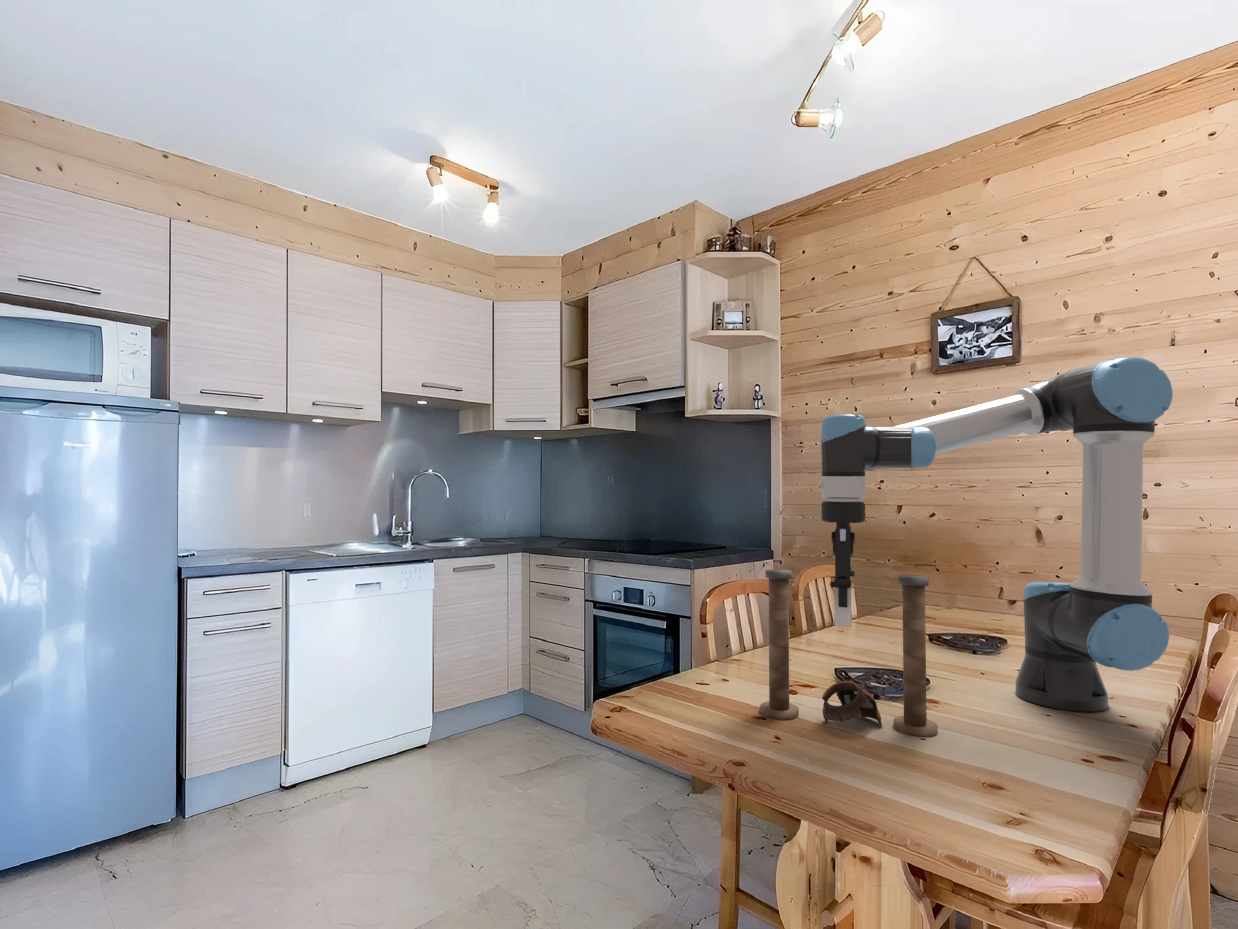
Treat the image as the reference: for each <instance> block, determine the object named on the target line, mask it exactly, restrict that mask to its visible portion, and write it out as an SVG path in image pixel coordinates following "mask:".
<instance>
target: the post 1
mask: <svg viewBox="0 0 1238 929" xmlns="http://www.w3.org/2000/svg"><path fill="white" fill-rule="evenodd" d="M765 578H767V579H768V671H769V672H768V678H769V679H768V685H769V686H768V687H769V689H768V690H769V691H768V696H769V698H768V701H764V702H762V703H760V704H759V713H760V714H761V715H762V716H764V717H767V718H770V719H774V720H785V721H786V720H793V719H797V718H798V717H799V715H800V713H799V712H800V708H799V707H798V706H797V705H796V704H794V703H791V702H790V623H789V622H790V620H789V618H790V617H789V616H790V612H789V611H790V610H789V609H790V607H789V606H790V605H789V603H790V602H789V600H790V598H789V597H790V596H789V595H790V594H789V590H790V589H789V580H790V579H793V571H792V570H790V569H778V568H775V569H774V568H772V569H771V568H769V569H765Z"/></svg>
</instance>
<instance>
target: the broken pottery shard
mask: <svg viewBox="0 0 1238 929" xmlns="http://www.w3.org/2000/svg"><path fill="white" fill-rule="evenodd" d="M855 692H857V693H855ZM835 694H836V696H837V699H838V700H839V702H840V704H841V705H833V704H831V703H829V699H831V697H832V696H833V695H835ZM821 698H822V700H823V703H822V704H823V707H822V716H823V720H824V722H825V723H826V724H828V723H829V721H833V722H838V723H839V722H843V721H849V720H852V719H859V720H863V718H870V719H872V720H876V722H878V726H880V727H879V728H882V727H883V723H882V715H881V713H880V711H879V709H878V705H877V702H876V700H875V697H874V696H873V695H872V694H871V693H870V692H869V691H868V690H866V689H864V688H862V687H861V685H860V684H859V683H857V682H855V681H851V680H842V681H839V682H836V683H833V684H832V685H830V686H829V687H828V688H827V689H826V690H825V691H824V692H823V695H822V697H821Z"/></svg>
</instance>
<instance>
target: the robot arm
mask: <svg viewBox="0 0 1238 929" xmlns="http://www.w3.org/2000/svg"><path fill="white" fill-rule="evenodd" d="M1172 387H1173V386H1172V383H1171V381H1170V379H1169V377H1168V375H1167V373H1166V372H1165V371H1164V370H1163V369H1160V367H1158V365H1157V364H1156V363H1154V362H1153V361H1151V360H1148V359H1146V358H1143V357H1137V356H1126V357H1120V358H1110V359H1107V360H1104V361H1102V362H1099V363H1094V364H1091V365H1088V366H1084V367H1080V368H1076V369H1071V370H1068V371H1066V372H1064V373H1063V372H1062V373H1061V374H1058V375H1056V376H1053V377H1050V378H1049V379H1047V380H1044V381H1040V382H1038V383H1036V384H1033V385H1029V386H1027V387H1026V386H1025V387H1022V388H1019V389H1017V390H1015V391H1014V392H1013V394H1012V395H1011V396H1007V397H1003V398H1000V399H999V398H998V399H996V400H995V399H994V400H992V401H987V402H983V403H979V404H976V405H975V404H974V405H973V406H968V407H965V408H961V409H956V410H952V411H948V412H945V413H941V414H937V415H933V416H930V417H929V416H928V417H926V418H925V417H924V418H922V419H917V420H915V421H910V422H906V423H903V424H898V425H894V426H870V425H867V424H866V423H867V422H866V420H865V417H864V416H863V415H862V414H848V413H847V414H834V415H827V416H826V417H824V419H823V420H822V423H821V435H820V436H821V437H820V450H821V451H820V452H821V481H818V482H817V486H818V487H819V488H822V489H821V497H822V499H825V501H822V502H821V505H820V506H821V510H820V511H821V512H820V513H821V520H822V521H823V522H825V523H836V524H835V525H836V526H835V529H834V531H832V532H831V543H832V554H833V556H834V559H835V560H834V562H835V563H834V571H835V573H834V580H833V581H830V588H834V626H837V627H847V628H852V577H855V576H856V574H855V572H856V571H854V570H852V567H851V557H852V556H853V555H854V544H855V542H856V541H855V540H856V539H855V538H856V536H855V535H856V532H852V531H851V530H852V527H851V524H862V523H864V522H866V503H865V502H864V501H863V500H864V499H865V498H866V493H867V492H866V471H868V472H870V471H874V470H875V471H876V470H888V469H889V470H890V469H893V470H894V469H911V470H913V469H914V470H915V469H924V468H928V467H930V466H931V465H932V463H933V462H934V460H935V458H936V455H938V454H941V453H942V454H943V453H946V452H950V451H954V450H958V449H962V448H967V447H971V446H975V445H978V444H982V443H987V442H990V441H994V440H998V439H1002V438H1006V437H1010V436H1014V435H1018V434H1023V433H1024V434H1026V435H1027V436H1028V435H1029V436H1035V435H1039V434H1042V433H1044V434H1045V433H1048V432H1049V433H1050V432H1056V431H1071V430H1072V436H1073V437H1074V438H1075V439H1076V440H1077V441H1078V442H1080V443H1081V444H1082V481H1081V483H1082V487H1081V488H1082V489H1081V490H1082V492H1081V531H1080V532H1081V537H1080V538H1081V539H1080V540H1081V542H1080V544H1081V545H1080V575H1079V577H1078V578H1077V579H1075V580H1074V581H1072V582H1044V581H1043V582H1042V581H1041V582H1040V581H1038V582H1029V583H1027V584H1026V585H1025V586H1024V592H1023V599H1022V602H1023V610H1024V611H1023V614H1024V615H1023V616H1024V617H1023V618H1024V619H1023V620H1024V621H1023V622H1024V658H1023V660H1022V663H1021V666H1020V668H1019V670H1018V674H1017V676H1016V679H1015V694H1016V695H1017V696H1018V697H1019V698H1021V699H1023V700H1024V701H1025V700H1026V701H1028V702H1030V703H1034V704H1037V705H1039V706H1043V707H1048V708H1052V709H1058V710H1064V711H1070V712H1085V713H1086V712H1089V713H1090V712H1102V711H1104V710H1107V709H1108V707H1109V694H1108V692H1107V689H1106V687H1105V684H1104V680H1103V679H1102V676H1101V674H1100V671H1099V668H1098V666H1097V664H1099V665H1101V666H1104V667H1107V668H1113V669H1116V670H1120V671H1126V672H1132V671H1140V670H1143V669H1146V668H1149V667H1150V666H1152V665H1153V663H1154V662H1157V661H1158V660H1160V659H1161V657H1162V656H1163V655H1165V652H1166V650H1167V648H1168V645H1169V643H1170V642H1169V641H1170V631H1169V626H1168V624H1167V622H1166V620H1165V619H1164V618H1163V617H1162V616H1161V613H1159V612H1158V611H1157V610H1155V609H1154V608H1153V592H1152V591H1151V590H1150V589H1149V588H1148V587H1147V586H1146V585H1145V584H1144V583H1143V582H1142V548H1143V547H1142V542H1143V541H1142V540H1143V483H1144V482H1143V480H1144V479H1143V477H1144V476H1143V474H1144V473H1143V472H1144V470H1143V468H1144V466H1143V465H1144V445H1145V444H1146V443H1147V442H1148V441H1149V440H1150V439H1151V438H1153V437H1154V436H1155V434H1156V433H1155V432H1156V431H1155V427H1156V420H1158V418H1160V417H1162V416H1163V415H1164V414H1165V412H1166V411H1167V410H1169V408H1170V406H1171V404H1172V401H1173V397H1174V396H1173V395H1174V394H1173V391H1174V390H1173V388H1172Z"/></svg>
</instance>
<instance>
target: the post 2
mask: <svg viewBox="0 0 1238 929" xmlns="http://www.w3.org/2000/svg"><path fill="white" fill-rule="evenodd" d="M898 584H899V585H901V587H902V588H901V590H902V593H901V594H902V595H901V596H902V600H901V601H902V675H903V678H902V679H903V682H902V683H903V684H902V685H903V691H902V692H903V715H900V716H895V717H894V718H893V719H892V725H893V726H892V727H893V728H894V730H896V731H897V730H898V732H899V731H901V732H900V733H901V734H904V733H905V735H908V736H913V737H921V738H922V737H923V738H928V737H934V736H937V735H938V733H939V732H938V730H939V728H938V724H937V723H936V722H934V721H933V720H930V719H928V717H927V658H926V656H927V655H926V652H927V648H926V643H927V642H926V639H927V638H926V637H927V636H926V635H927V634H926V586H929V584H930V581H929V577H927V576H924V575H912V574H904V575H903V574H902V575H898Z"/></svg>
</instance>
